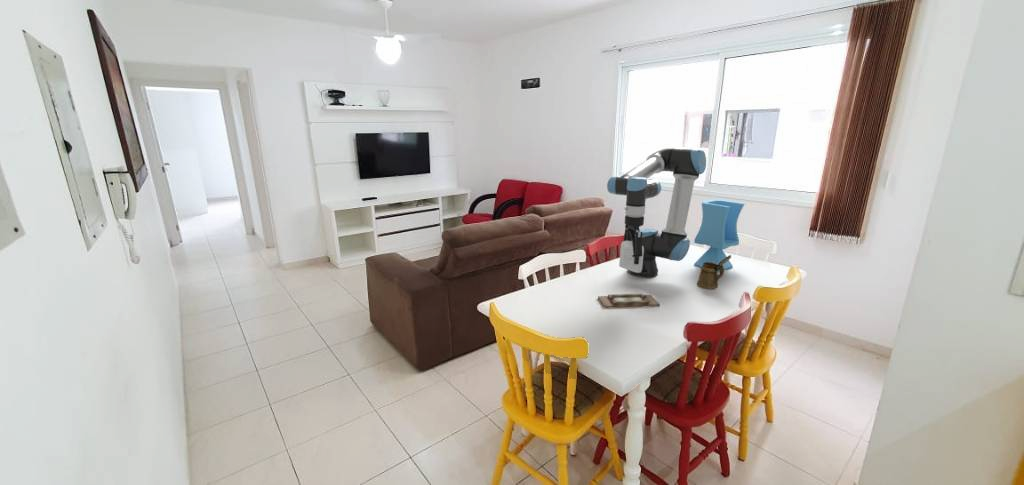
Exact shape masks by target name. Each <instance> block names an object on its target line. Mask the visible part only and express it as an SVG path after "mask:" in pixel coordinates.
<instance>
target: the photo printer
mask: <svg viewBox="0 0 1024 485" xmlns="http://www.w3.org/2000/svg"><path fill="white" fill-rule="evenodd" d="M619 250H620V252H619V264H618V266H619V268H622V269H625V270H627V271H628V270H630V271H631V269H632V255H634V254H633V245H632V241H623V240H622V242H621V244H620V249H619ZM643 255H644V247H643V246H642V256H640V258H639V270H638V271H633V272H636V273H640V272H641V271H642V265H643Z"/></svg>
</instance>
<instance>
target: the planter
mask: <svg viewBox="0 0 1024 485" xmlns="http://www.w3.org/2000/svg"><path fill="white" fill-rule="evenodd" d="M744 206H745V203H743V202H737V201H736V202H735V201H730V200H729V201H728V200H722V199H711V200H705V201H702V202H701V210H702V219H701V225H700V227H699V229H698V232H697V234H696V236H695V238H694V241H693V243H694V244H698V245H705V246H709V248H708V249H707V250H706V251H705V252H704V253H703V254H702V255H701V256H700V257H699V258H698V259H697V260H696V261H695V262H694V264H693V266H694V267H697V268H701V267H702V265H703V263H704V262H711V263H715V264H719V263H720V262H721V261H722V260H723V259H724V258H726V257H728V256H727V255H726V253H725V252H724V250H727V249H728V248H730V247H735V246H739V244H740V239H739V234H738V228H737V227H738V220H739V217H740V213H741V211H742V210H743V209H744ZM733 266H734V265H733V263H732V262H731V261H730V259H729V260H728V261H727V262H726V263H724V264H723V267H724V271H727V270H729V269H732V268H733ZM717 273H720V271H719V270H718V272H717Z"/></svg>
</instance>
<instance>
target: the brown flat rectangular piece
mask: <svg viewBox="0 0 1024 485" xmlns="http://www.w3.org/2000/svg"><path fill="white" fill-rule="evenodd" d="M597 299H598V301H599V300H600V301H599V303H600V302H601V303H602V304H601V303H600V304H601V305H603V306H604V307H621V308H642V306H651V307H660V306H661V304H660V303H659V301H657V300H656V298H655V297H654V296H653V295H651V294H644V293H625V294H624V293H622V294H621V293H620V294H608V295H599V296H597ZM603 306H602V307H603ZM604 307H603V308H604Z"/></svg>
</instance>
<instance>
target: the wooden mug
mask: <svg viewBox="0 0 1024 485" xmlns="http://www.w3.org/2000/svg"><path fill="white" fill-rule="evenodd" d="M731 258H732V255H731V254H730V255H728V256H727V257H726V258H724V259H723V260H722V261H721V262H720V263H719V264H715V263H711V262H704V263H703V265H702V267H700V269H701V270H700V274H699V276H698V280H697V282H696V286H697V287H698V288H700V289H703V290H710V291H711V290H712V291H713V290H717V289H718V287H719V283H718V282H719V280H720V279H721V278H722V277H723V275H724V273H725V270H724V267H723V264H724V263H726V262H727V261H728V260H729V261H730V259H731ZM718 270H719V271H720V272H718Z"/></svg>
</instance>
